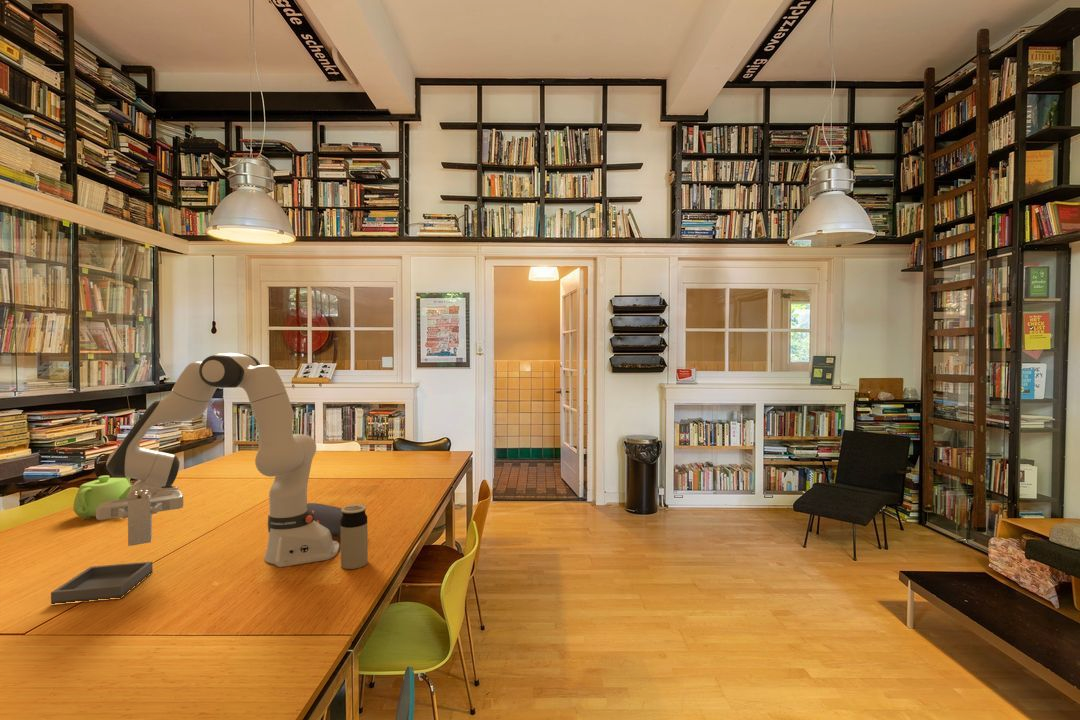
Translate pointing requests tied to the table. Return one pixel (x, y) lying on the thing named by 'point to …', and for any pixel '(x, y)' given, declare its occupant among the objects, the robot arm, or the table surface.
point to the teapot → (99, 494)
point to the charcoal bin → (102, 582)
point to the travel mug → (354, 537)
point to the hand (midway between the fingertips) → (139, 513)
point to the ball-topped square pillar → (139, 517)
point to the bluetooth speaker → (327, 516)
